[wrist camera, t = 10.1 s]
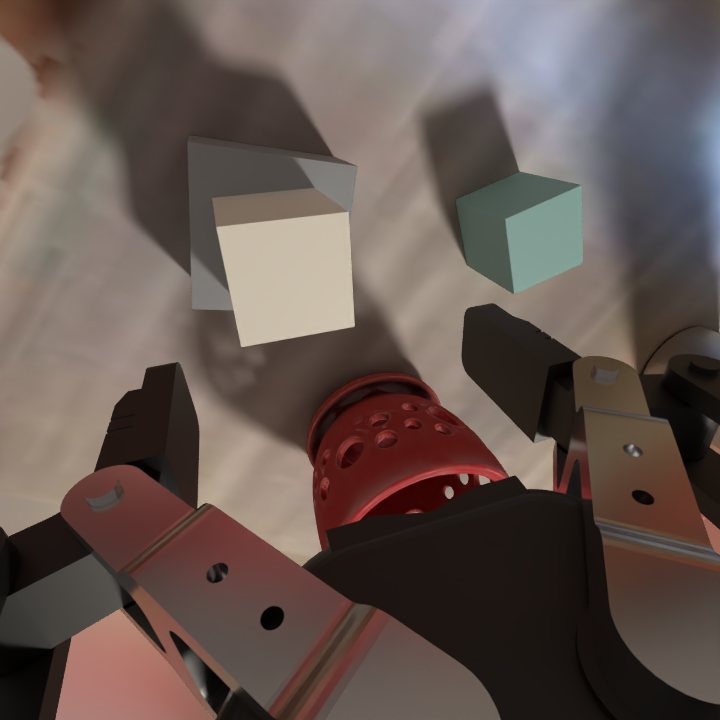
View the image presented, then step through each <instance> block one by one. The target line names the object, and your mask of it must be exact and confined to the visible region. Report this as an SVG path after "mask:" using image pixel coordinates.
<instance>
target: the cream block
mask: <svg viewBox="0 0 720 720" xmlns="http://www.w3.org/2000/svg"><path fill="white" fill-rule="evenodd" d="M212 201H213V208H214V215H215V222H216V229H217V233H218V238H219V243H220V248H221V252H222V257H223V262H224V267H225V271H226V276H227V281H228V286H229V290H230V295H231V300H232V305H233V310H234V314H235V319H236V324H237V329H238V333H239V338H240V343H241V347H246V346H251V345H257V344H262V343H268V342H273V341H279V340H284V339H290V338H295V337H301V336H306V335H312V334H317V333H323V332H328V331H334V330H339V329H345V328H350V327H355V322H354V304H353V285H352V266H351V248H350V229H349V212H348V211H347V210H345V209H344V208H342V207H341V206H340V205H338V204H337V203H336V202H334V201H333V200H331V199H330V198H329V197H327V196H326V195H324V194H323V193H322V192H320V191H319V190H317V189H316V188H307V189H296V190H286V191H276V192H266V193H256V194H246V195H236V196H225V197H215V198H212Z"/></svg>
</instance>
